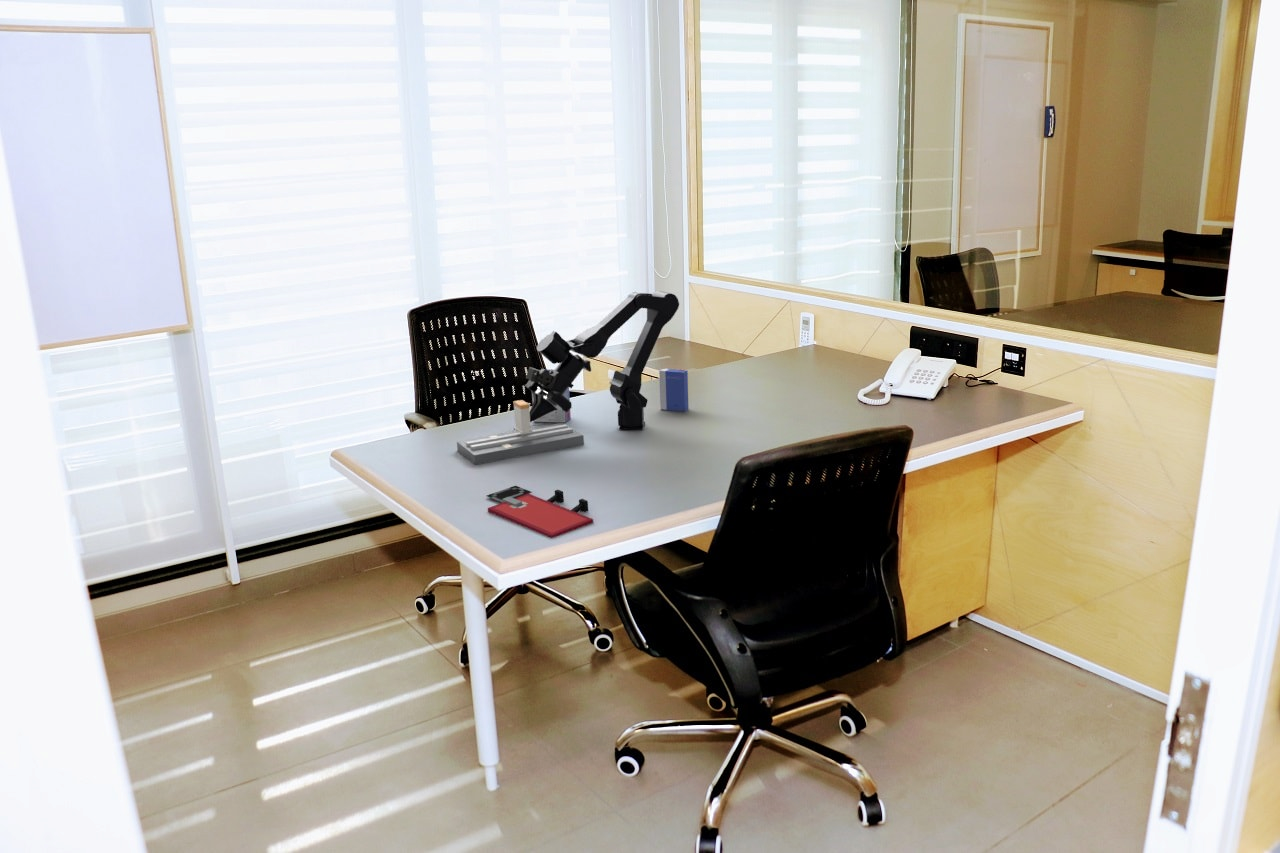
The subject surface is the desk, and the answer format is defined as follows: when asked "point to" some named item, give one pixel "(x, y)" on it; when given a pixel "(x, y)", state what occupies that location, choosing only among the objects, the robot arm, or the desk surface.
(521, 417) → the fader lever
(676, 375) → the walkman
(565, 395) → the ink cartridge box
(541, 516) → the red board with handle
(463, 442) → the fader console
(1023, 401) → the desk surface
